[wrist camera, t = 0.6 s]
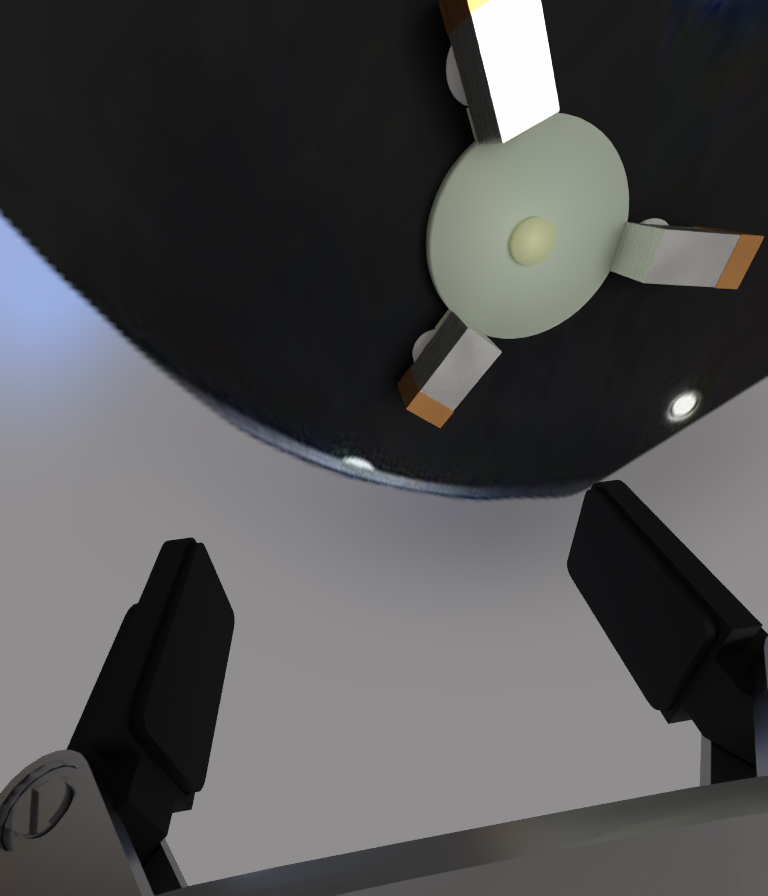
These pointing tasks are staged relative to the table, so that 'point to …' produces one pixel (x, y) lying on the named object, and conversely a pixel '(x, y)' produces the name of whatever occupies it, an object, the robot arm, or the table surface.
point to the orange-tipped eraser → (447, 370)
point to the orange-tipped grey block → (684, 255)
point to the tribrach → (525, 225)
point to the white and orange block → (502, 64)
